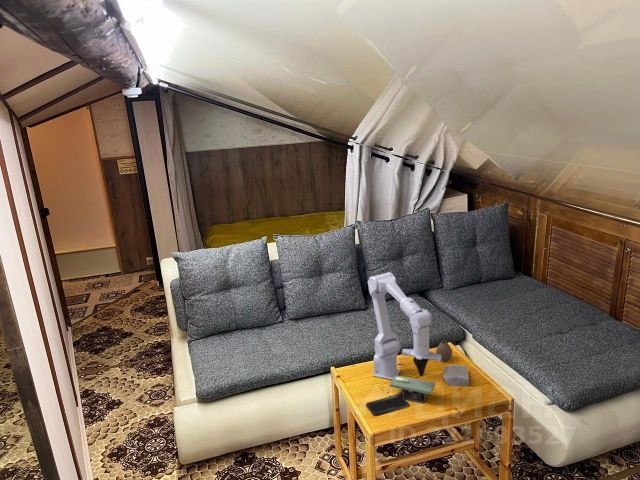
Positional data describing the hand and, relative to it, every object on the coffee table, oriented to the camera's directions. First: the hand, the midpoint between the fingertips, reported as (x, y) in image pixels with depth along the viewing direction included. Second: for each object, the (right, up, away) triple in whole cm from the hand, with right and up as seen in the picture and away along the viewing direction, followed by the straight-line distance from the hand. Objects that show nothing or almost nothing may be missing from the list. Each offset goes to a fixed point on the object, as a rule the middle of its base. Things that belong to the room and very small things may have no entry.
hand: (421, 374), depth 175 cm
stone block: (+17, -6, +14) cm, 23 cm away
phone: (-13, -12, -1) cm, 18 cm away
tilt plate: (-3, -5, +3) cm, 6 cm away
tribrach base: (-3, -9, +4) cm, 11 cm away
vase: (+16, -2, +29) cm, 34 cm away
